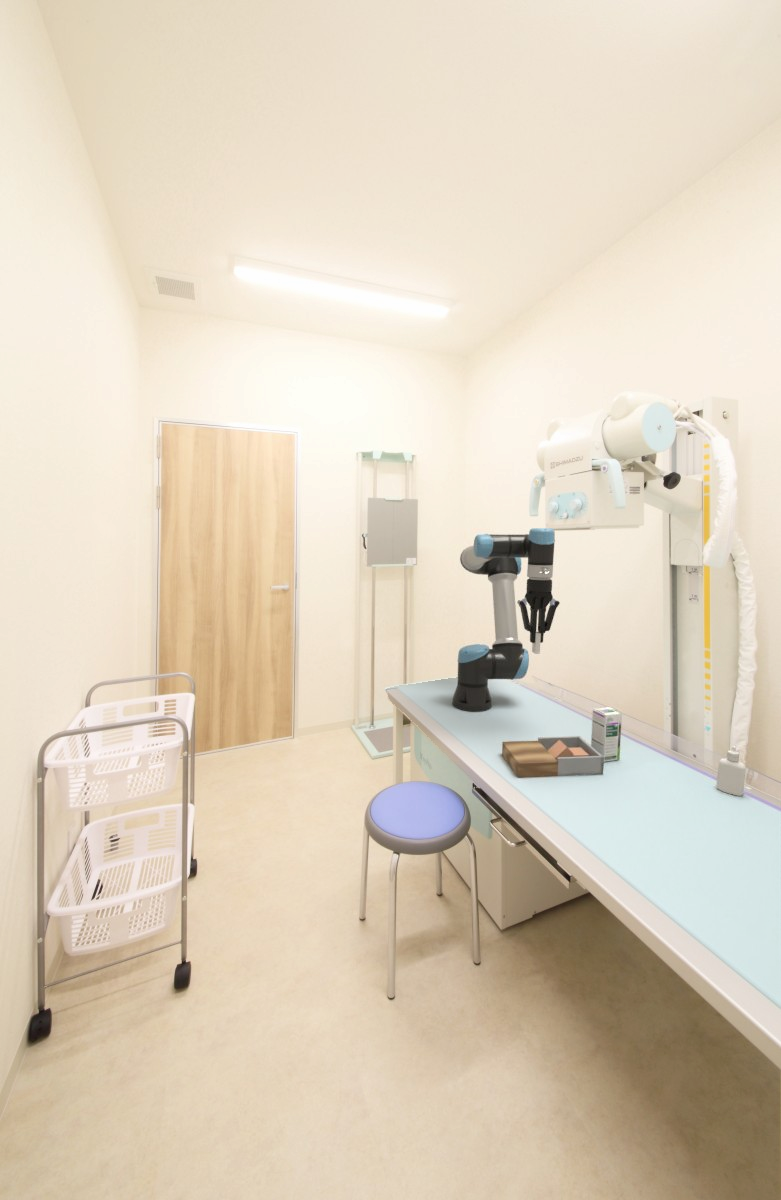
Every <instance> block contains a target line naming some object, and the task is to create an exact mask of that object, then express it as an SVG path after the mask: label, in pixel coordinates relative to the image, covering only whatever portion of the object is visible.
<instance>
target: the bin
mask: <svg viewBox="0 0 781 1200" xmlns="http://www.w3.org/2000/svg"><path fill="white" fill-rule="evenodd" d="M559 740H560V741H561V742H562V743H564V744H565V745H566V746H567V747H568V748H578V747H581V748H582V749H583V750H584V751H585V752H586V753H587V754H589V756H582V757H557V761H558V776H557V777H568V776H590V775H591V776H593V775H595V776H597V775H603V774H604V767H605V766H604V765H605V764H604V763H605V762H604V756H602V755H601V754H600V753H599V752H598V751H596V750H595V749H594V748H593V747H592V746H591V744H589V742H587V741H586V740H585V739H584V738H583V737H582V736H580V735H574V736H573V735H571V736H570V735H569V736H545V737H543V736H542V737H541V736H540V737H537V741H539V742H540V743H541V744H542V745H543V746H544V747H545V749H546V750H547V751H548V750H549V749H550V748H551V747H552V746H553V745H554V744H555V743H556V742H557V741H559Z"/></svg>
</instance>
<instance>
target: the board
mask: <svg viewBox="0 0 781 1200" xmlns="http://www.w3.org/2000/svg"><path fill="white" fill-rule="evenodd" d="M501 745H502V749H501V755H502V757H503V758H504V759H505V761H506V762H507V764H508V765H509V766H510V768H511V769H512V771H513V772H514V773H515V775H516V776H517V777H518V779H519V778H539V777H540V778H541V777H559V776H558V761H557V760H556V759H555V758H554V757H553V756H552V755H551V754H550V753H549V752H548V751H547V750H546V749H545V747H544V746H543V745H542V744H541V743H540V742H539V741H538V740H516V741H515V740H513V741H510V740H509V741H502V744H501Z"/></svg>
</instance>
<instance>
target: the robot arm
mask: <svg viewBox="0 0 781 1200" xmlns="http://www.w3.org/2000/svg"><path fill="white" fill-rule="evenodd" d="M555 542H556V539H555V530H554V529H553V528H550V527H549V528H547V527H546V528H541V527H540V528H533V527H532V528H531V529H529V532H528V534H527V533H526V534H488V533H484V534H477V535H476V536H475V537H474V539H473V545H470V546H467V547H465V549H463V550H462V551H461V554H460V557H459V561H460V562H459V563H460V565H461V567H463V569H464V570H466V571H467V572H469V573H472V574H475V575H483V576H485V575H486V576H487V578H488V579H487V580H488V581H489V582H490V583H491V586H492V588H491V589H492V603H493V604H492V605H493V615H494V616H493V619H494V632H495V633H494V634H495V636H494V637H495V641H494V642H493V643H492V645H491V648H490V647H489V646H488V645H487V644H479V643H478V644H470V645H465V646H463V647H461V648H460V649H459V651H458V655H457V685H456V688H455V691H454V694H453V697H452V705H453V707H455V708H457V709H459V710H461V711H462V710H463V711H467V712H483V711H487V710H490V709H491V708H492V705H493V704H492V703H493V699H492V696H491V693H490V689H489V686H488V685H489V684H488V682H489V680H521V679H523V678H525V676H527V672H528V670H529V665H530V654H529V651H528V649H527V648H524V647H523V643H522V641H520V640H519V633H518V622H517V621H518V620H517V609H516V608H517V607H516V606H517V605H516V594H515V583H514V582H515V581H516V580H517V578H518V575H519V574H521V572H522V558H523V559H525V558H527V571H526V572H527V573H526V577H527V580H526V592H525V595H524V598H522V599H521V600H517V604H518V606H519V609H520V613H521V616H522V617H521V618H522V623H523V629H524V630H525V631H527V632H529V642H530V643H531V644H532V645H531V652H532V653H534V654H536V655H539V654H540V653H541V644H542V643H543V642H544V635H545V633H546V632H549V631H550V630H551V628H552V624H553V621H554V617H555V614H556V610H557V608H558V607H559V605H560V604H561V603H560V601H559V600H556V599H555V598H554V597H553V594H552V590H553V580H552V578H553V574H554V556H555ZM527 605H529V606H530V607H529V609H530V616H529V613H528V609H527V608H528V607H527ZM548 605H549V607H548V611H547V606H548ZM546 612H547V614H546ZM529 617H530V618H529Z"/></svg>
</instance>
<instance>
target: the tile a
mask: <svg viewBox="0 0 781 1200" xmlns="http://www.w3.org/2000/svg"><path fill="white" fill-rule="evenodd" d="M548 752H549V753H550V754H551V755H552V756H553V757H554V758H555V759H556V760H557V757H571V756H572V755H573V753H572V752H571V751H570V750H569V748H568V747H567V746H566V745H565V744H564V743H562V742H561V741H560V740H559V741H557V742H556V743H555V744H554V745H553V746H552V747H551V748H550V749H549V750H548Z"/></svg>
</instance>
